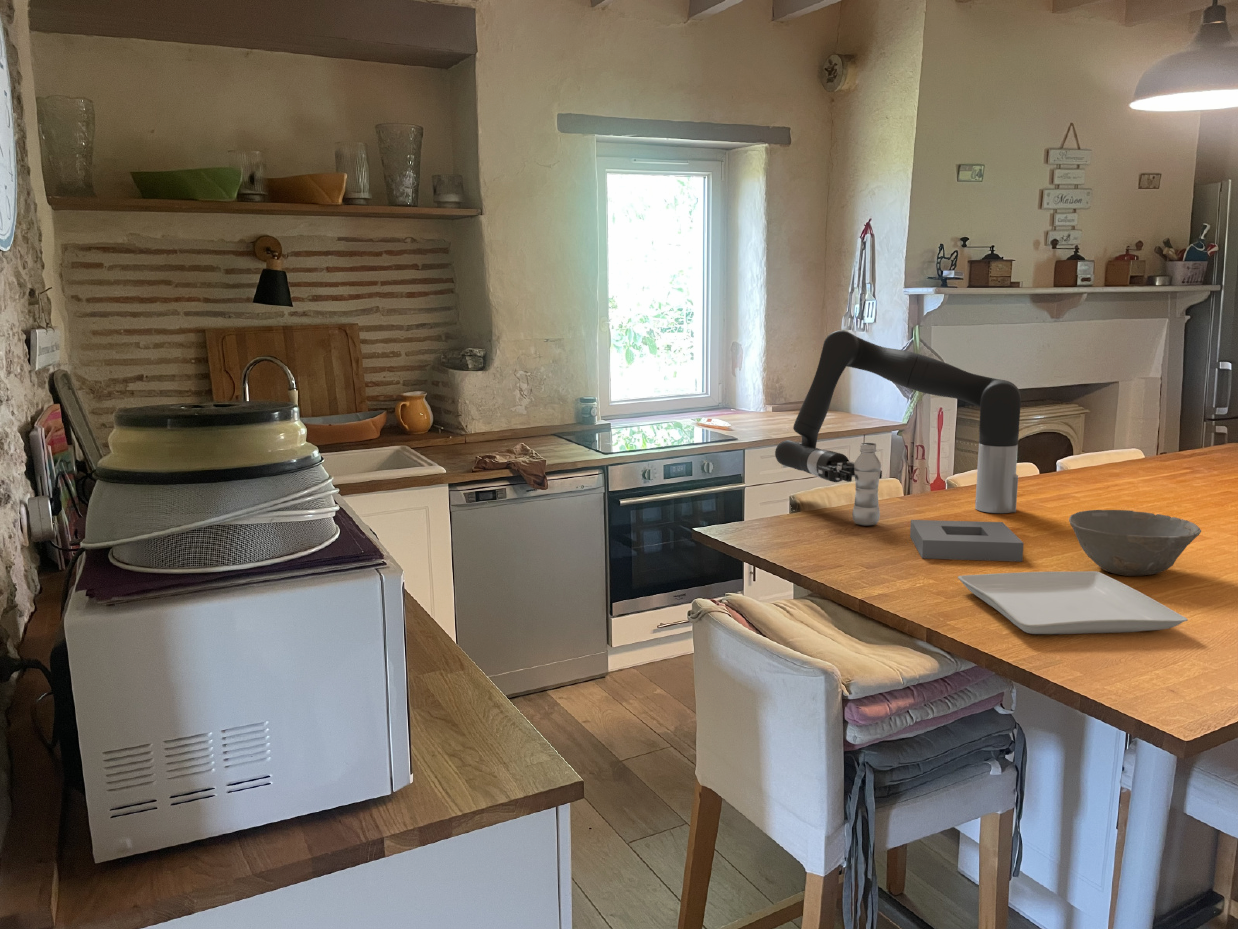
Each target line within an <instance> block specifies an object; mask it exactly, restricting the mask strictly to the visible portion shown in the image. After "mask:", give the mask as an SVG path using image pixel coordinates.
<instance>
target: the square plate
mask: <svg viewBox="0 0 1238 929" xmlns="http://www.w3.org/2000/svg"><path fill="white" fill-rule="evenodd" d="M957 579H958V580H959V581H960V582H961V583H962V584H963V585H964V587H965V588H966V589H968V590H969V592H971V593H972V594H973V595H974V596H976V597H978V599H980V600H982V601H983V602H985V603H986V604H988V605H989V606H990V607H992V608H994V609H995V611H997V612H999V613H1000V614H1001V615H1002V616H1004V618H1006V619H1007V620H1009V621H1010V622H1011V623H1012V624H1014V626H1016V627H1017V628H1018V629H1020V630H1022V631H1023V633H1027V634H1031V635H1075V634H1106V633H1108V634H1109V633H1111V634H1112V633H1113V634H1114V633H1116V634H1117V633H1136V632H1137V633H1139V632H1144V631H1146V632H1147V631H1162V630H1167V629H1172V628H1174V627H1175V628H1176V627H1177V626H1179V625H1181V624H1182V623H1184V622H1188V618H1187V617H1185V616H1184V615H1182V614H1180V613H1179V612H1176V611H1175V610H1174V609H1171V608H1169V607H1168V606H1166V605H1164V604H1162V603H1161V602H1159V601H1157V600H1155V599H1153V598H1152V597H1150V596H1147V594H1145V593H1142V592H1140V591H1139V590H1137V589H1135V588H1132V587H1131V586H1129V585H1127V584H1124V583H1123V582H1121V581H1119V580H1117V579H1115V578H1112V577H1110V576H1108V575H1106V574H1104V573H1103V572H1099V571H1094V570H1093V571H1092V570H1091V571H1089V570H1088V571H1087V570H1086V571H1027V572H1026V571H1025V572H1024V571H1022V572H1002V573H1001V572H1000V573H984V574H968V575H967V574H966V575H965V574H964V575H958V576H957Z"/></svg>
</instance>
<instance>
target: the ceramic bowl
mask: <svg viewBox="0 0 1238 929" xmlns="http://www.w3.org/2000/svg"><path fill="white" fill-rule="evenodd" d="M1068 522H1069V524H1070V526H1071V527H1072V529H1073V531H1074V534H1075V537H1076V539H1077V541H1078V543H1079V546H1080V548H1081V550H1083V552H1084V553H1085V554H1086V556H1087V557H1088V558H1089V559H1091V561H1093V562H1094V564H1095V565H1097V566H1098V567H1099V568H1101V569H1102V570H1103V571H1105V572H1108V573H1111V574H1114V575H1117V576H1119V575H1120V576H1125V577H1135V576H1136V577H1138V576H1142V577H1143V576H1150V575H1157V574H1159V573H1162V572H1165V571H1167V570H1168V569H1170V568H1171V567H1173V566H1174V564H1175V562H1176V561H1177V559H1178V558H1179V557H1180V556H1181V554H1182V553H1183V552H1184V551H1185V550H1186V548H1187V546H1189V545H1190V544H1191V543H1192V542H1194V541H1195V539H1196V538H1197V537H1198V536H1200V534H1201V532H1202V529H1201V528H1200V527H1199V525H1197V524H1196V523H1194V522H1191V521H1189V520H1186V519H1183V518H1179V517H1175V516H1172V517H1171V516H1170V515H1168V514H1167V515H1166V514H1165V515H1164V514H1161V513H1156V514H1155V513H1153V512H1152V513H1151V512H1145V511H1134V510H1130V509H1129V510H1127V509H1089V510H1083V511H1078V512H1076V513H1073V514H1071V515H1070V516H1069V518H1068Z"/></svg>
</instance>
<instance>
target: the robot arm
mask: <svg viewBox="0 0 1238 929" xmlns="http://www.w3.org/2000/svg"><path fill="white" fill-rule="evenodd" d="M821 349H822V350H821V352H820V353H821V354H820V358H819V361H818V365H817V368H816V372H815V374H814V377H813V379H812V383H811V385H810V387H809V390H808V391H807V393H806V396H805V398H804V401H803V403H802V404H801V407H800V409H799V412H798V415H797V416H796V419H795V421H794V423H793V430H794V432H795V433H796V434H798V435H799V436H801V443H799V442H796V441H793V440H789V439H787V440H783V441H781V442H780V443H779V444H777V446H776V448H775V449H774V450H775V451H774V456H775V459H776V461H777V463H778V464H780V465H782V466H785V467H789V468H790V469H791V468H792V469H794V470H797V471H801V472H806V474H810V475H814V476H815V477H818V478H819V479H823V480H826V481H829V482H832V483H840V482H843V481H844V482H847V483H851V482H852V481H853V479H852V478H855V473H854V463H855V461H851V460H850V459H849V458H848V457H847V456H846V455H845V454H843V453H840V452H837V451H833V450H830V449H822V448H818V447H817V442H818V436H819V432H820V431H821V429H822V426H823V424H824V422H825V419H826V416H827V414H828V412H829V409H830V405H831V402H832V398H833V397H834V396H833V395H834V392H835V389H836V387H837V384H838V382H839V380H840V377H842V374H843V373H844V371H845V369H846V368H852V369H858V370H860V371H861V370H862V371H866V372H870V373H872V374H875V375H877V376H879V377H882V378H883V379H885V380H887V381H889V382H892V383H894V384H897V385H899V386H902V387H904V388H906V389H910V390H913V391H917V392H920V393H923V394H927V395H932V396H935V397H936V396H937V397H943V398H944V397H945V398H951V399H957V400H960V401H963V402H967V403H969V404H972V405H974V406H976V407H979V408H980V409H979V425H978V426H979V427H978V454H977V468H976V469H977V471H976V486H975V487H976V488H975V490H976V491H975V506H974V507H975V510H977V511H979V512H982V513H983V512H985V513H989V514H990V513H991V514H1009V513H1016V512H1017V502H1018V501H1017V500H1018V499H1017V498H1018V487H1019V486H1018V485H1019V475H1018V474H1017V466H1018V465H1017V464H1018V450H1019V449H1018V448H1019V438H1020V437H1019V435H1020V419H1021V408H1022V407H1021V406H1022V405H1021V404H1022V398H1021V395H1022V394H1021V391H1020V389H1019V388H1018V386H1017V385H1016V384H1014V382H1011V381H1009V380H1005V379H999V378H993V377H987V376H984V375H979V374H975V373H971V372H969V371H966V370H963V369H961V368H959V367H956V366H954V365H951V364H949V363H946V362H944V361H941V360H939V359H935V358H933V357H930V356H927V355H923V354H920V353H917V352H912V351H909V350H903V349H897V348H892V347H891V348H890V347H886V346H885V347H884V346H881V345H878V344H875V343H872V342H870V341H868V340H866V339H864V338H860V337H858V336H857V335H855V334H853V333H851V332H849V331H846V330H841V329H840V330H836V331H832V332H831V333H829V334H828V335H827V336H826V337H825V340H824V341H823V344H822V348H821ZM880 471H881V472H880V478H879V480H880V479H882V477H883V471H882V469H881V470H880Z"/></svg>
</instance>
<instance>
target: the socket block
mask: <svg viewBox="0 0 1238 929" xmlns="http://www.w3.org/2000/svg"><path fill="white" fill-rule="evenodd" d="M909 529H910V531H909V534H910V535H909V537H910V539H911V541H912V542H913V544H914V546H915V548H916V550H917V552H918V554H919V555H920V557H921V559H929V560H959V561H961V560H962V561H991V562H992V561H993V562H1023V556H1024V554H1023V553H1024V544H1025V543H1024V541H1022V540H1021V539H1020V538H1019V537H1018V536H1017V535H1016V534H1015V533H1014V532H1013V531H1012V530H1011V529H1010V528H1009V527H1008V526H1007V525H1006V524H1005V523H1004V522H1003V521H976V520H975V521H969V520H934V519H933V520H930V519H929V520H927V519H910V528H909Z"/></svg>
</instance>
